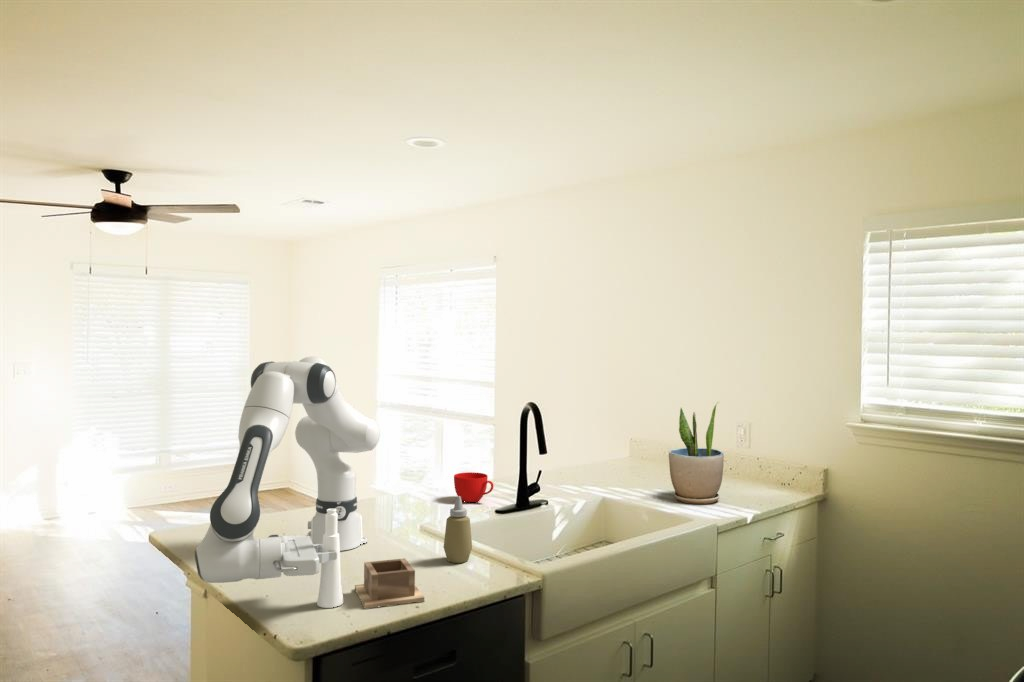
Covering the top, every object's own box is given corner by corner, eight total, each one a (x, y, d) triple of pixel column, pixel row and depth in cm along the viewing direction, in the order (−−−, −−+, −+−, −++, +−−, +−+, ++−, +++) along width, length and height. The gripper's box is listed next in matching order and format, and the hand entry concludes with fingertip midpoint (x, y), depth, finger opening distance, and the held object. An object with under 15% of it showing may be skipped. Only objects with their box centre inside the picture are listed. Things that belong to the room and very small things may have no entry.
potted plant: (665, 504, 278) (667, 400, 278) (670, 492, 298) (671, 396, 298) (722, 508, 272) (724, 402, 272) (723, 496, 292) (724, 398, 292)
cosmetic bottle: (311, 604, 167) (312, 509, 168) (331, 597, 172) (332, 505, 173) (329, 610, 164) (330, 513, 164) (349, 602, 169) (350, 508, 169)
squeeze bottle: (448, 566, 197) (449, 500, 197) (439, 557, 205) (440, 494, 205) (476, 563, 201) (477, 498, 201) (466, 554, 208) (467, 492, 208)
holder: (354, 589, 178) (355, 560, 178) (410, 582, 183) (410, 555, 183) (364, 609, 165) (365, 578, 165) (424, 601, 170) (424, 572, 170)
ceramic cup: (482, 508, 266) (483, 481, 266) (446, 502, 275) (447, 476, 275) (502, 501, 277) (502, 476, 277) (466, 496, 286) (467, 471, 286)
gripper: (275, 556, 154) (341, 550, 159) (270, 532, 173) (329, 527, 178) (275, 586, 154) (341, 579, 159) (270, 558, 173) (329, 553, 178)
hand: (334, 551), depth 169 cm, fingers closed on cosmetic bottle, 4 cm apart
